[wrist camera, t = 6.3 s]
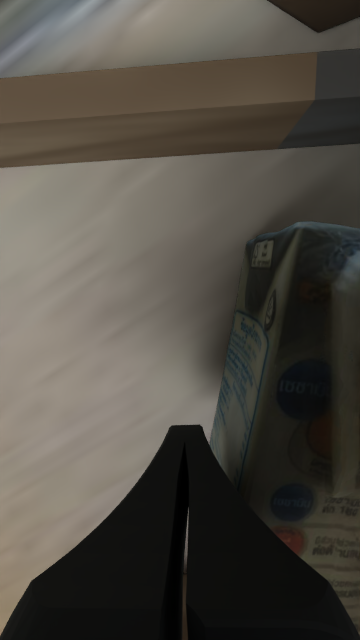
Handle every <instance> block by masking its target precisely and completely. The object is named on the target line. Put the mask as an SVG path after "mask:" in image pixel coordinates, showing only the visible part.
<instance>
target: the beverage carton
mask: <svg viewBox="0 0 360 640" xmlns="http://www.w3.org/2000/svg"><path fill="white" fill-rule="evenodd" d="M209 446H210V448H211V450H212V452H213V453H214V455H215V457H216V459H217V461H218V462H219V464H220V466H221V467H222V469H223V471H224V472H225V474H226V475H227V477H228V478H229V480H230V481H231V483H232V484H233V485H234V487H235V488H236V490H237V491H238V492H239V493H240V495H241V496H242V497H243V499H244V500H245V501H246V502H247V503H248V505H249V506H250V507H251V508H252V509H253V511H254V512H255V513H256V514H257V515H258V516H259V517H260V518H261V519H262V520H263V521H264V523H265V524H266V525H267V526H268V527H269V528H270V529H271V530H272V531H273V532H274V533H275V534H276V535H277V536H278V537H279V538H280V539H281V540H282V541H283V542H284V543H285V544H286V545H287V546H288V547H289V548H290V549H291V550H292V551H293V552H295V553H296V554H297V555H298V556H299V557H300V558H301V559H303V560H304V561H305V562H306V563H307V564H309V565H310V566H311V567H312V568H313V569H315V570H316V571H317V572H318V573H319V574H320V575H322V576H323V577H324V578H325V579H326V580H328V581H329V582H330V584H331V586H332V587H333V589H334V590H335V592H336V594H337V595H338V597H339V599H340V600H341V602H342V604H343V606H344V607H345V609H346V611H347V613H348V614H349V616H350V618H351V620H352V622H353V623H354V625H355V627H356V629H357V631H358V633H359V635H360V229H359V228H353V227H348V226H342V225H337V224H329V223H321V222H313V221H305V222H296V223H295V224H293V225H291V226H289V227H286V228H285V229H283V230H281V231H279V232H275V233H265V234H262V235H259V236H257V237H256V238H255V239H252V240H250V241H248V242H247V244H246V249H245V255H244V261H243V266H242V270H241V275H240V282H239V290H238V296H237V302H236V308H235V313H234V319H233V324H232V329H231V334H230V339H229V344H228V349H227V355H226V361H225V367H224V373H223V378H222V383H221V389H220V394H219V399H218V404H217V410H216V415H215V420H214V424H213V429H212V435H211V440H210V445H209Z"/></svg>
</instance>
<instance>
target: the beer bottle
mask: <svg viewBox="0 0 360 640" xmlns="http://www.w3.org/2000/svg"><path fill="white" fill-rule="evenodd" d="M268 1H269V2H271V3H272V4H274V5H275V6H277V7H279V8H280V9H282V10H283V11H285V12H286V13H288V14H289V15H291V16H293V17H294V18H296V19H297V20H299V21H300V22H302V23H304V24H305V25H307V26H308V27H310V28H311V29H313V30H314V31H316V32H321V31H324V30H326V29H329V28H331V27H334V26H337V25H339V24H342V23H345V22H347V21H350V20H352V19H355V18H358V17H360V0H268Z"/></svg>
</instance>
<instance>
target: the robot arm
mask: <svg viewBox="0 0 360 640" xmlns="http://www.w3.org/2000/svg"><path fill="white" fill-rule="evenodd" d="M188 508H189V522H188V557H187V584H186V615H187V631H188V640H360V635H359V633H358V631H357V629H356V627H355V625H354V623H353V622H352V620H351V618H350V616H349V614H348V613H347V611H346V609H345V607H344V606H343V604H342V602H341V600H340V599H339V597H338V595H337V594H336V592H335V590H334V589H333V587H332V586H331V584H330V582H329V581H328V580H326V579H325V578H324V577H323V576H322V575H320V574H319V573H318V572H317V571H316V570H315V569H313V568H312V567H311V566H310V565H309V564H307V563H306V562H305V561H304V560H303V559H301V558H300V557H299V556H298V555H297V554H296V553H295V552H293V551H292V550H291V549H290V548H289V547H288V546H287V545H286V544H285V543H284V542H283V541H282V540H281V539H280V538H279V537H278V536H277V535H276V534H275V533H274V532H273V531H272V530H271V529H270V528H269V527H268V526H267V525H266V524H265V523H264V521H263V520H262V519H261V518H260V517H259V516H258V515H257V514H256V513H255V512H254V511H253V509H252V508H251V507H250V506H249V505H248V503H247V502H246V501H245V500H244V499H243V497H242V496H241V495H240V493H239V492H238V491H237V490H236V488H235V487H234V485H233V484H232V483H231V481H230V480H229V478H228V477H227V475H226V474H225V472H224V471H223V469H222V467H221V466H220V464H219V462H218V461H217V459H216V457H215V455H214V453H213V452H212V450H211V448H210V446H209V444H208V441H207V439H206V437H205V434H204V431H203V427H202V426H201V425H172V426H171V427H170V428H169V430H168V433H167V435H166V437H165V439H164V441H163V443H162V445H161V447H160V448H159V450H158V452H157V453H156V455H155V457H154V458H153V460H152V462H151V463H150V465H149V466H148V468H147V469H146V470H145V472H144V473H143V475H142V476H141V478H140V479H139V480H138V482H137V483H136V484H135V486H134V487H133V488H132V490H131V491H130V492H129V493H128V494H127V496H126V497H125V498H124V499H123V500H122V501H121V503H120V504H119V505H118V506H117V507H116V508H115V509H114V510H113V511H112V512H111V513H110V515H109V516H108V517H107V518H106V519H105V520H104V521H103V522H102V523H101V524H100V525H99V526H98V527H96V528H95V529H94V530H93V531H92V532H91V533H90V534H89V535H88V536H87V537H86V538H85V539H83V540H82V541H81V542H80V543H79V544H78V545H77V546H76V547H75V548H73V549H72V550H71V551H70V552H69V553H67V554H66V555H65V556H64V557H62V558H61V559H60V560H58V561H57V562H56V563H55V564H53V565H52V566H51V567H49V568H48V569H47V570H45V571H44V572H43V573H42V574H40V575H39V576H38V577H36V578H35V579H33V580H32V581H31V582H30V584H29V586H28V588H27V589H26V591H25V593H24V594H23V596H22V598H21V599H20V601H19V602H18V604H17V606H16V608H15V609H14V611H13V613H12V615H11V616H10V618H9V620H8V622H7V624H6V626H5V628H4V630H3V632H2V634H1V636H0V640H182V638H183V567H184V552H185V540H186V528H187V516H188Z"/></svg>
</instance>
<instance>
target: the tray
mask: <svg viewBox="0 0 360 640" xmlns="http://www.w3.org/2000/svg"><path fill="white" fill-rule="evenodd" d="M359 143H360V49H348V50H336V51H324V52H312V53H300V54H288V55H276V56H264V57H252V58H240V59H227V60H215V61H203V62H191V63H179V64H167V65H155V66H143V67H131V68H119V69H107V70H95V71H83V72H71V73H59V74H47V75H35V76H23V77H11V78H0V168H4V167H19V166H34V165H48V164H63V163H78V162H93V161H108V160H122V159H137V158H152V157H167V156H182V155H196V154H211V153H226V152H241V151H255V150H270V149H285V148H300V147H315V146H329V145H344V144H359ZM186 584H187V574H183V638H182V640H188V631H187V615H186Z"/></svg>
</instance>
